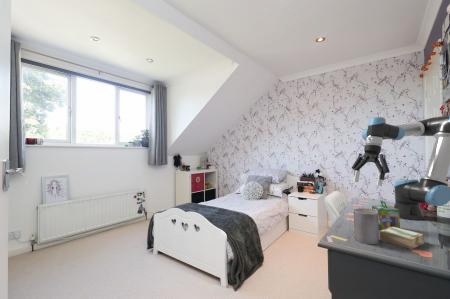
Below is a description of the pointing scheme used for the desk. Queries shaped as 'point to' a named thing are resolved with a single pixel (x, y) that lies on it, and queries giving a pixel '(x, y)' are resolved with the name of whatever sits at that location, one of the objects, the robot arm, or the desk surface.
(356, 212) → the pillar candle
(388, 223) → the chalk box
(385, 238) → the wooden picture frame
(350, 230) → the desk surface
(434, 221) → the desk surface
